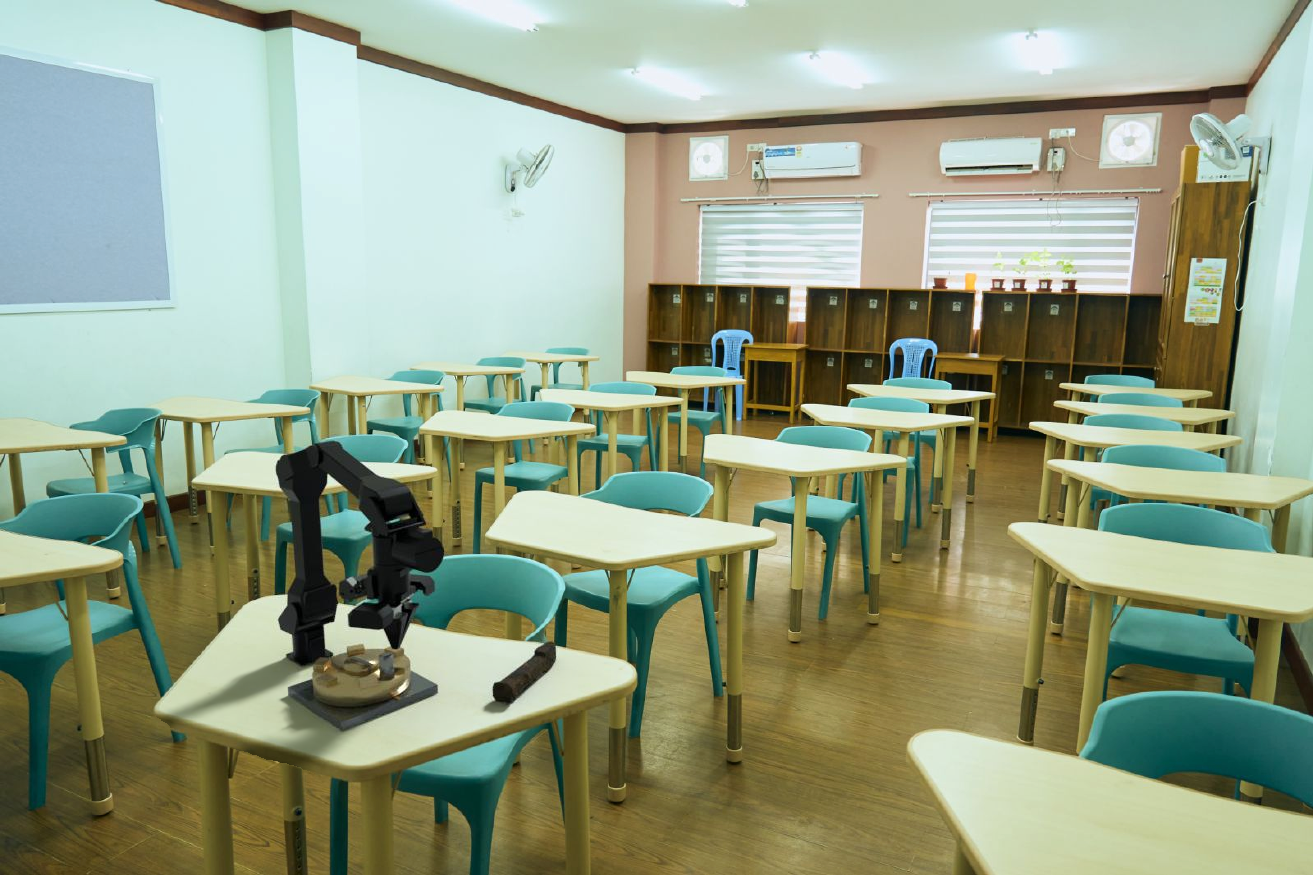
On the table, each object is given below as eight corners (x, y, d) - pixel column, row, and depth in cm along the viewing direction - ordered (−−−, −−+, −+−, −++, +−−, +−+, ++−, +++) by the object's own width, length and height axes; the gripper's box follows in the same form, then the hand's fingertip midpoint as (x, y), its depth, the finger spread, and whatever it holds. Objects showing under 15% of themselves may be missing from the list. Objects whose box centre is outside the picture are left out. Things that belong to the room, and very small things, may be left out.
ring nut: (293, 689, 151) (290, 651, 149) (370, 656, 164) (368, 621, 162) (354, 716, 142) (351, 675, 141) (430, 678, 155) (428, 641, 154)
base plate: (288, 695, 152) (287, 686, 152) (381, 662, 166) (381, 653, 165) (341, 731, 141) (341, 721, 140) (437, 692, 154) (437, 683, 153)
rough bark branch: (511, 707, 149) (510, 681, 149) (491, 702, 151) (491, 676, 150) (568, 664, 166) (568, 640, 165) (549, 659, 168) (549, 636, 167)
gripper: (376, 540, 158) (381, 623, 161) (314, 574, 140) (321, 667, 143) (434, 545, 155) (438, 629, 158) (378, 580, 137) (383, 674, 140)
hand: (395, 648), depth 150 cm, fingers closed
